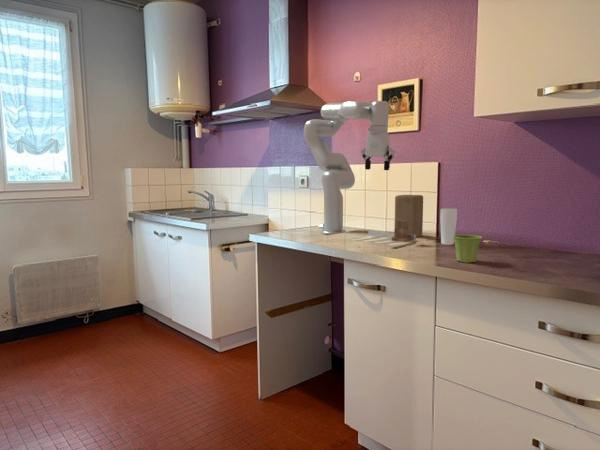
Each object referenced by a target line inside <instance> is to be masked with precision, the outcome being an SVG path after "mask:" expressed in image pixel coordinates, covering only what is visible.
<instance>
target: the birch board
mask: <svg viewBox="0 0 600 450" xmlns="http://www.w3.org/2000/svg"><path fill="white" fill-rule="evenodd" d="M367 232H368V233H367V234H368V235H366V236H361V237H357V238H351V239H349V240H350V241H356V242H357V241H358V242H365V243H373V244H381V245H382V244H383V245H388V246H389V245H391V246H393V247H391V249H395V250H397V249H402V248H406V247H410V246H414V245H416V244H417V242H416V240H417V237H416V235H414V234H408V237H410V241H406V242H401V241H392V237H394V231H393V232H391V231H380V230H371V229H370V230H368V231H367Z"/></svg>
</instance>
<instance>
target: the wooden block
mask: <svg viewBox="0 0 600 450" xmlns="http://www.w3.org/2000/svg"><path fill="white" fill-rule="evenodd" d="M394 199H395V200H394V222H395V221H396V220H408V234H414V235H416V238H418V237H423V227H424V225H423V222H424V196H423V195H421V194H399V195H395V197H394Z"/></svg>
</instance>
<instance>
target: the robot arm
mask: <svg viewBox="0 0 600 450" xmlns="http://www.w3.org/2000/svg"><path fill="white" fill-rule="evenodd" d="M389 104H390V103H389V102H388V101H386V100H384V101H383V100H375V101H373V102H368V101H361V100H350V101H343V102H328V103H325V104H324V105H323V106H322V107H321V109H320V115H321V117H322V119H315V118H314V119H310V120H307V121H306V122H305V124H304V127H303V138H304V141H305V142H306V143H305V144H306V145H307V147H308V148H309V149H310V151H311V153H312V155H313V159H314V160H315V162H316V164H317V166H318V168H319V170H320V171H322V172H324V173H323V175H322V177H321V183H322V188H323V203H324V204H323V206H324V207H323V223H320V225H318V228H319V229H322V230H321V231H320V233H321V234H322V235H329V236H330V235H332V236H333V235H338V234H344V233H347V230H344V196H343V194H342V191H341V190H348V189H351V188H352V187H353V186H354V185H355V183H356V177H355V174H354V172H353V169H352V167H351V165H350V163H349V161H348V159H347V157H346V156H345V155H344V154H343V153H341V152H332V151H331V150H330V149H329V147H328V144H327V143H326V142H325V140H323V139H322V137H325V138H331V137H334V136H335V135H336V134H337V133H338V131H340V129H341V128H342V127H343V125H344V124H345V123H346V121H349V120H350V119H355V120H367V121H370V124H369V125H370V126H369V128H368V129H367V131H368V132H369V133H368V134H367V137H366V144H365V148H363V149H361V150H360V153H361V156H362V158H363V159H364V160H363V161H364V162H365V163H364V164H365V165H364V167H365V170H366V171H367V170H368V171H369V170H371V165H372V164H371V163H372V162H371V161H372V160H371V159H372V158H373V157H383V159H384V161H383V171H390V167H391V166H390V165H391V161H392V160H393V159H394V158H395V157H394V156H395V155H396V153H397V151H396V149H393V148H392V147H391V145H390V144H391V142H390V135H389V133H388V132H389V131H388V129H389V127H388V126H389V113H390V112H389V110H390V105H389Z"/></svg>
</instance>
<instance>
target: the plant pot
mask: <svg viewBox="0 0 600 450" xmlns="http://www.w3.org/2000/svg"><path fill="white" fill-rule="evenodd" d="M452 237H453V238H454V247H455V257H456V261H457V262H461V263H467V264H469V263H476V262H477V257H478V251H479V246H480V243H481V239H482V238H483V237H482V236H480V235H475V234H474V235H473V234H455V235H453V236H452Z"/></svg>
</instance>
